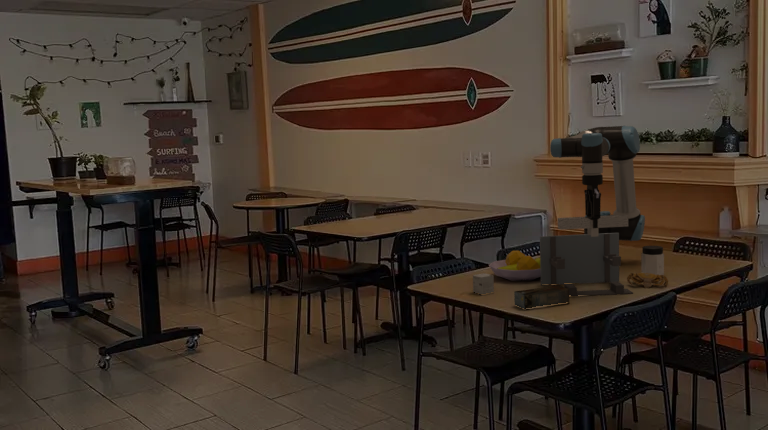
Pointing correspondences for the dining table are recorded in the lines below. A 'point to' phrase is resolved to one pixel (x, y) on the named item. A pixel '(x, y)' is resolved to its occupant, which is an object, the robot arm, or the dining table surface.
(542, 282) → the panel
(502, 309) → the dining table surface
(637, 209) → the robot arm
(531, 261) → the fruit bowl
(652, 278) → the crab model
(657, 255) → the jar
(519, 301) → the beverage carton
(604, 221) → the rail
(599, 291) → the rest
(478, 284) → the skincare box
